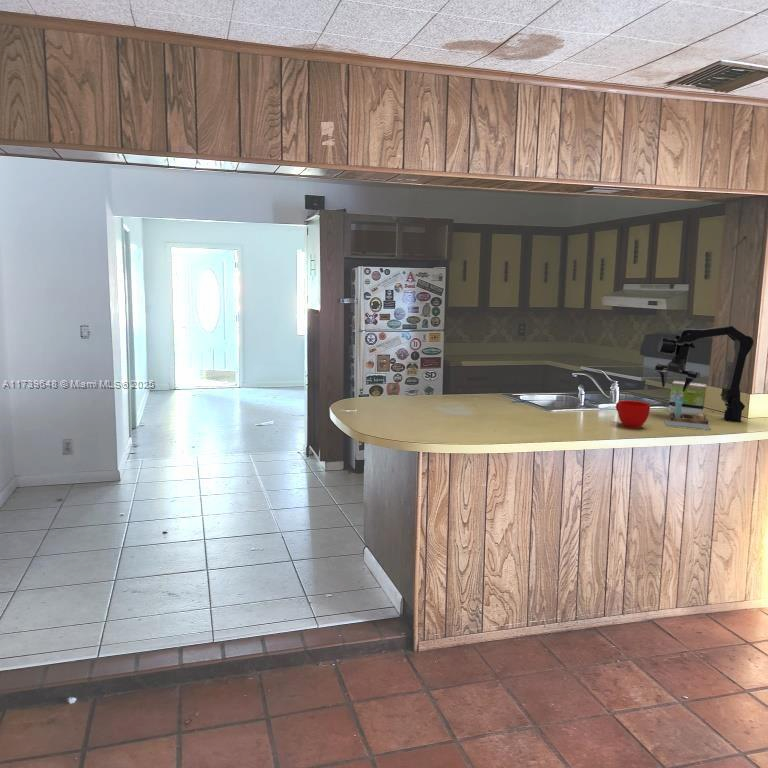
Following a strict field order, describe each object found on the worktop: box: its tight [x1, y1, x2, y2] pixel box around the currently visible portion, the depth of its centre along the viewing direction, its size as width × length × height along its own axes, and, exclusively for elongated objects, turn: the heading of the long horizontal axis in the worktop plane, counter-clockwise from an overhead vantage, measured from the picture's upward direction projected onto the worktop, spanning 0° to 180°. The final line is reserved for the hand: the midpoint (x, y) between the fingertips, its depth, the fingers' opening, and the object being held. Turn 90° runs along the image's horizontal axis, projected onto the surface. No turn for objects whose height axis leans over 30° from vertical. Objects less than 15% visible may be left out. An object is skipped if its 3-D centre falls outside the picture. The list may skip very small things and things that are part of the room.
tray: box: [669, 412, 709, 425], centre depth 304 cm, size 15×12×2 cm
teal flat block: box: [674, 400, 682, 418], centre depth 305 cm, size 2×7×8 cm, turn 160°
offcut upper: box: [694, 413, 705, 419], centre depth 303 cm, size 4×6×2 cm, turn 160°
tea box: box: [668, 380, 708, 415], centre depth 323 cm, size 15×10×15 cm
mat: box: [663, 420, 712, 432], centre depth 293 cm, size 18×10×1 cm, turn 70°
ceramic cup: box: [615, 400, 651, 429], centre depth 290 cm, size 13×17×10 cm
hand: (673, 389), depth 309 cm, fingers open, 9 cm apart
